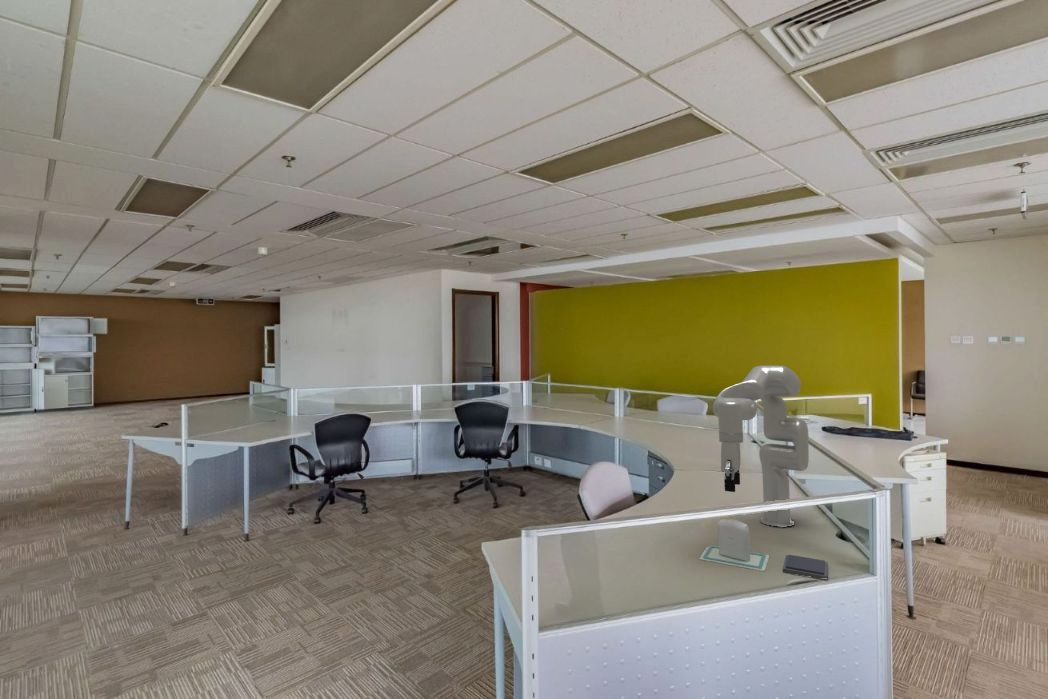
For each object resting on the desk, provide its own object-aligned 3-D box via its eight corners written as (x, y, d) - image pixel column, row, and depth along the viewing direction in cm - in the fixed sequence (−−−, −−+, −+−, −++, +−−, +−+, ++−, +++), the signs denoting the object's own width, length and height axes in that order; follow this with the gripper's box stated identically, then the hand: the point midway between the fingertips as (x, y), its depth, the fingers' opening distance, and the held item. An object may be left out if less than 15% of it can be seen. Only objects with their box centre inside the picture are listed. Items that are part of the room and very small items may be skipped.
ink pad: (786, 558, 169) (785, 553, 169) (827, 565, 162) (827, 560, 162) (782, 572, 158) (782, 566, 158) (827, 580, 152) (827, 574, 152)
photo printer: (716, 554, 173) (715, 518, 173) (722, 550, 176) (721, 515, 176) (747, 562, 166) (746, 525, 166) (752, 558, 169) (751, 521, 169)
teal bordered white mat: (708, 545, 182) (708, 543, 182) (769, 555, 171) (769, 554, 171) (699, 559, 170) (699, 557, 170) (764, 571, 159) (764, 569, 159)
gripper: (723, 432, 180) (725, 480, 180) (714, 440, 165) (715, 493, 165) (746, 433, 176) (748, 482, 176) (738, 442, 161) (740, 495, 161)
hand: (732, 487), depth 171 cm, fingers open, 9 cm apart
